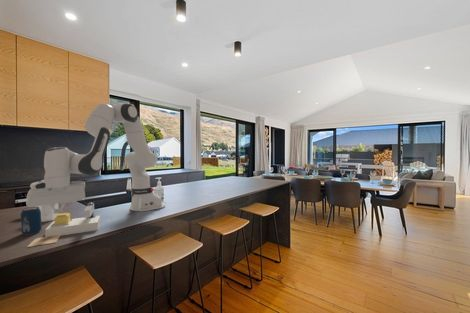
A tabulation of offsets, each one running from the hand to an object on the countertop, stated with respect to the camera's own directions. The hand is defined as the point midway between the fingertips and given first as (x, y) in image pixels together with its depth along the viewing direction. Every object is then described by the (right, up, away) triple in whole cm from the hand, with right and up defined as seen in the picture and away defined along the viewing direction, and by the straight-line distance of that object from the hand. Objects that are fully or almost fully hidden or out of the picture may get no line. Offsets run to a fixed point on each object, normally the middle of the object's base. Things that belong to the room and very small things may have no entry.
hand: (57, 212), depth 94 cm
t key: (+6, -7, +13) cm, 15 cm away
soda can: (-18, -12, +6) cm, 23 cm away
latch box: (0, -11, +10) cm, 15 cm away
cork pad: (-3, -12, -3) cm, 12 cm away
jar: (-27, -11, +25) cm, 39 cm away
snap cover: (-4, -7, +8) cm, 12 cm away
